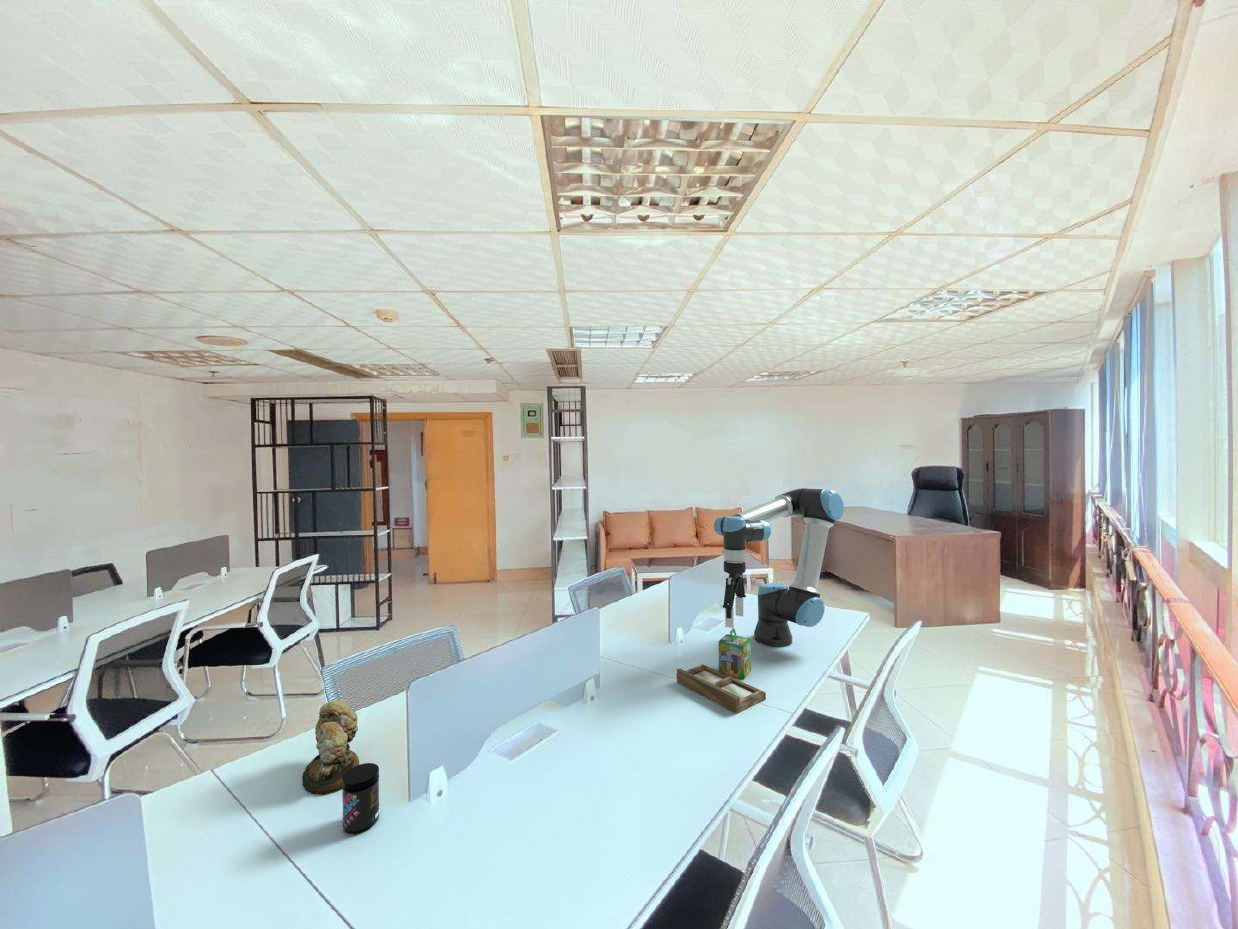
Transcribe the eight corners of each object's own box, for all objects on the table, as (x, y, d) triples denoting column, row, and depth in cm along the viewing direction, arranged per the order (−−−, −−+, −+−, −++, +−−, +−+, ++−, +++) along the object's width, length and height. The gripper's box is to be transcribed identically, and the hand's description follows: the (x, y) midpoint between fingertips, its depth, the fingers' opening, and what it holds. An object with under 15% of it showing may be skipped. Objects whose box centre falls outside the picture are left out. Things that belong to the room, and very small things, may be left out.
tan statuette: (300, 763, 119) (300, 694, 119) (354, 746, 126) (353, 681, 126) (303, 804, 105) (303, 725, 105) (364, 783, 111) (364, 709, 112)
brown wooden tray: (705, 671, 169) (705, 658, 169) (765, 699, 149) (765, 685, 149) (676, 682, 160) (676, 669, 160) (736, 714, 140) (736, 698, 140)
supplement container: (347, 815, 101) (346, 766, 101) (382, 808, 103) (381, 760, 103) (338, 839, 95) (337, 787, 94) (376, 831, 97) (375, 780, 96)
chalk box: (743, 680, 162) (743, 636, 162) (718, 674, 167) (717, 631, 167) (752, 670, 170) (751, 628, 170) (727, 664, 175) (726, 624, 174)
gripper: (733, 553, 181) (733, 610, 181) (713, 566, 159) (713, 630, 159) (753, 555, 177) (753, 612, 177) (736, 569, 155) (736, 634, 155)
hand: (734, 621), depth 168 cm, fingers open, 13 cm apart
